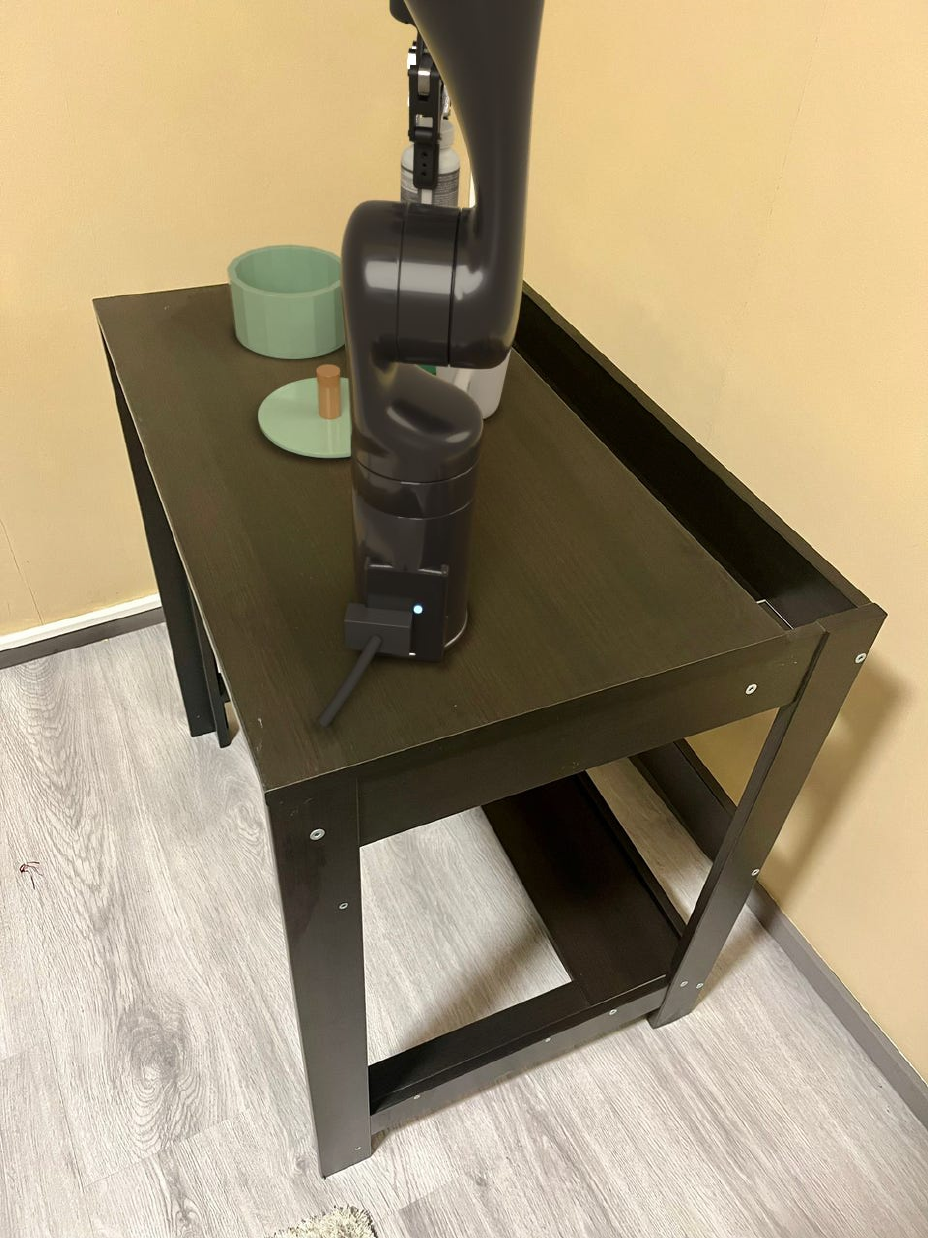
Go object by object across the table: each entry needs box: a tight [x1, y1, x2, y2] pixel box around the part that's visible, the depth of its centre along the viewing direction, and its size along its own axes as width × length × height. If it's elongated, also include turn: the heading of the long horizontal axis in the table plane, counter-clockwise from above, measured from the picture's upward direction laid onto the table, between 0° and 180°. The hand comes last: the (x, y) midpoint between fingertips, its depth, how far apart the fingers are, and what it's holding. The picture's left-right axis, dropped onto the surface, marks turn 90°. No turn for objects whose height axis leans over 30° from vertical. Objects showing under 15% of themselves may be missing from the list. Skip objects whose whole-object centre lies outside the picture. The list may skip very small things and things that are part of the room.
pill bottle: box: [399, 117, 461, 207], centre depth 83 cm, size 5×5×10 cm
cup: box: [436, 348, 512, 420], centre depth 95 cm, size 11×8×8 cm
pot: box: [226, 244, 345, 360], centre depth 106 cm, size 14×14×8 cm
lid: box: [257, 363, 351, 459], centre depth 93 cm, size 15×15×6 cm
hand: (429, 174), depth 83 cm, fingers closed on pill bottle, 5 cm apart
